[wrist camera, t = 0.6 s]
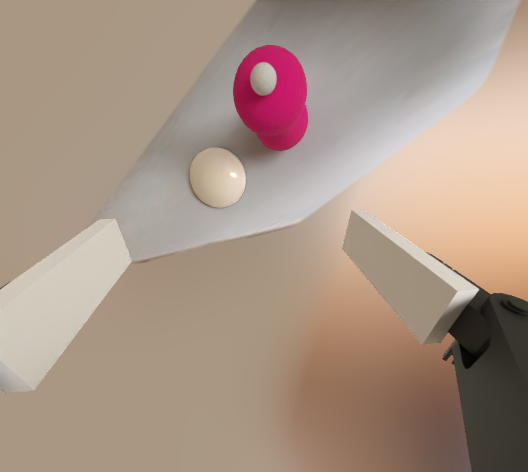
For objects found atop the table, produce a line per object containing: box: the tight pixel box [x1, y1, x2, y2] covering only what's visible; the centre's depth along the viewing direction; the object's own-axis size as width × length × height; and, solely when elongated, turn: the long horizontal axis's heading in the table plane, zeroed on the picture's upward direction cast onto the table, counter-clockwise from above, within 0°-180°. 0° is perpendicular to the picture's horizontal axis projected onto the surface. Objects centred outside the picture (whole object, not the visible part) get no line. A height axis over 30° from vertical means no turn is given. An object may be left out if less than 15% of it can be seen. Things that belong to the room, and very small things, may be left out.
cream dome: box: [190, 147, 246, 208], centre depth 35 cm, size 10×10×1 cm
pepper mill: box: [233, 45, 308, 151], centre depth 22 cm, size 7×7×20 cm
